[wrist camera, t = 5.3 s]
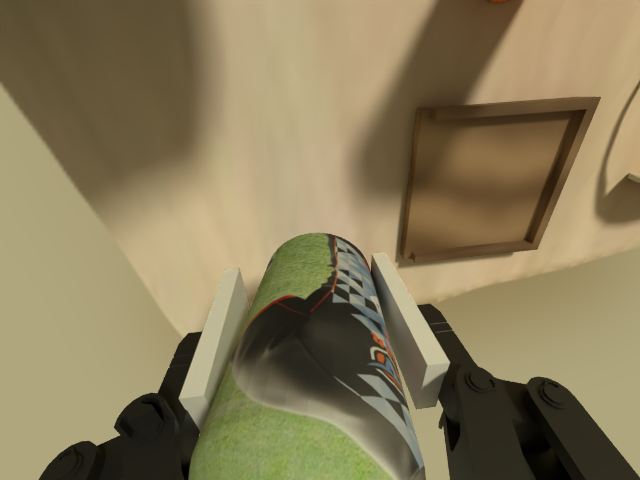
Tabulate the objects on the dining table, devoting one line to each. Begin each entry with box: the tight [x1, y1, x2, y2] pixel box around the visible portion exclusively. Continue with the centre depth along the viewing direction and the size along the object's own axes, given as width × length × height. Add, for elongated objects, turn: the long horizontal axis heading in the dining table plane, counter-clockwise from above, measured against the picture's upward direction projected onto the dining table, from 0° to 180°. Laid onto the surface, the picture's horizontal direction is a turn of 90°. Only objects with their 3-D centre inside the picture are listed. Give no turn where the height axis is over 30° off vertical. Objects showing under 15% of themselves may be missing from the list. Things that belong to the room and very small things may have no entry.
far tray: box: [401, 97, 601, 262], centre depth 24 cm, size 14×14×2 cm
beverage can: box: [188, 233, 426, 480], centre depth 11 cm, size 6×7×12 cm
